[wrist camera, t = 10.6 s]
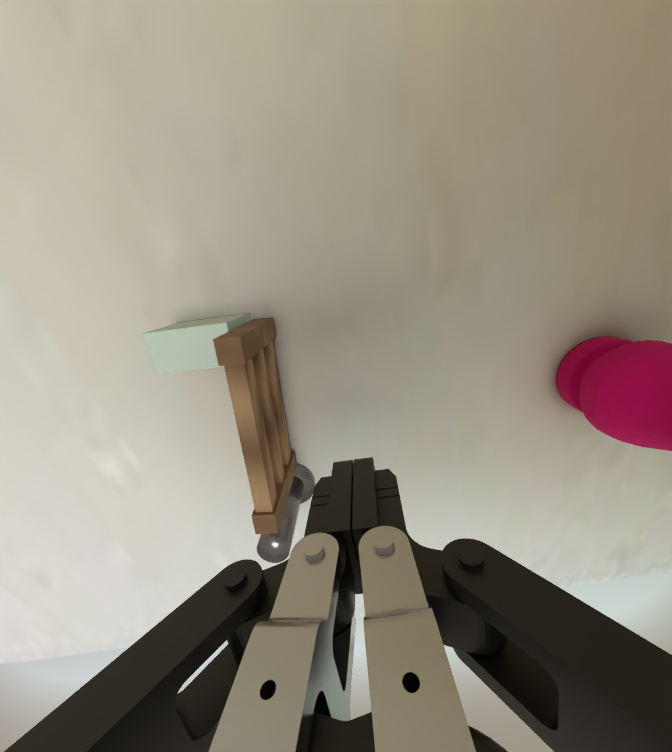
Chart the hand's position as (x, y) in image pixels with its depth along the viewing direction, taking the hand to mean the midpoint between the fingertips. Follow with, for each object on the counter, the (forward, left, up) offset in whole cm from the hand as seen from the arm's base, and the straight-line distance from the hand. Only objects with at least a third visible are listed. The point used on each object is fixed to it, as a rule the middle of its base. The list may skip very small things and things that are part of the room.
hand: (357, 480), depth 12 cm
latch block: (+11, -4, -16) cm, 20 cm away
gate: (+7, +2, -15) cm, 17 cm away
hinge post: (+7, +11, -16) cm, 21 cm away
